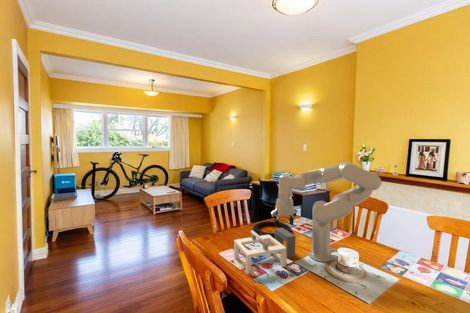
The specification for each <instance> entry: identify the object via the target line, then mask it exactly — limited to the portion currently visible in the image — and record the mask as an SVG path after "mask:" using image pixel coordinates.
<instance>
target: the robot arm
mask: <svg viewBox="0 0 470 313" xmlns="http://www.w3.org/2000/svg"><path fill="white" fill-rule="evenodd" d="M341 180H346V181H348V182H350V183H352V184H354V186H353V187H352V188H349V189H347V190H345V191H343V192H340V193H337V194H334V195H333V197H332V198H331V201H329V202H326V201H324V200H318V201H316V202H314V204H313V206H312V228H311V229H312V230H311V232H312V233H311V237H312V238H311V250H310V251H308V257H310V258H311V259H312V260H315V261H316V262H321V263H322V262H323V263H325V262H326V263H327V262H331V261H332V260H333V258H334V257H333V255H332V254H333V253H336V252H337V249H336V247H334V248H332V247H331V223H332V222H334V221H337V220H340V219H342V218H345V217H346V216H348V215H349V214H351V213H352V211H353V208H354V206H357V205H359V204H361V203H363V202H366V201H367V200H368V199H369V198H370V197H371V195H372V194H373V192H374V191H377V190H378V189H379V188H380V187H381V186H382V179H381V177H380V176H379V175H378V174H376V173H373V172H372V171H369V170H366V169H364V168H363V167H360V166H358V165H356V164H354V163H352V162H350V161H345V162H340V163H337V164H333V165H330V166H326V167H322V168H317V169H314V170H313V169H312V170H309V171H305V172H301V173H298V174H296V175H294V176H292V175H289V174H281V175H279V178H278V195H277V196H278V197H277V198H276V201H275V205H274V210H272V211H271V212H270V215H271V217H272V218H273V219H274V222H275V226H274V227H276V226H277V227H276V228H280V227H279V222H280V221H279V219H280V218H284V217H289V219H288V220H289V222H288V223H289V225H291V226H294V219H295V217H296V216H297V214H298V213H299V212H298V211H299V210H298V209H296V208H294V200H293V198H292V197H294V194H293V190H295V191H296V190H297V191H300V190H301V191H302V190H303V189H305V188H306V186H307V185H312V184H318V183H319V184H329V183H332V182H336V181H341Z"/></svg>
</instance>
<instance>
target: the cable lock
mask: <svg viewBox="0 0 470 313" xmlns="http://www.w3.org/2000/svg"><path fill="white" fill-rule="evenodd" d="M262 227H263V228H264V227H276V228H284V229H285V230H287V231H288V232H290V233H292V234H293V230H292V228H291V226H289V225H288V224H286V223H284V222H283V223H282V222H280V221H279V227H277V226H275V221H269V220H268V221H267V220H266V221H261V222H258V223H256V224H255V225H254V226H253V227H252V229H253V231H254V232H255V233H257V234H258V235H259V236H263V235H270V236H272V237H273V238H274V239H275V232H274V233H273V232H266V231H263V230H260V228H262Z"/></svg>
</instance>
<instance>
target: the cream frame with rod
mask: <svg viewBox="0 0 470 313" xmlns="http://www.w3.org/2000/svg"><path fill="white" fill-rule="evenodd" d="M250 233H251V237H244V238H238V239H233V258H234V259H235V260H240V251H241V253H243V255H244V256H245V273H246V274H248V275H250V274H249V273H251V274H252V258H254V257H260V256H265V255H270V254H276V253H280V260H279V261H280V267H282V268H286V267H287V257H286V249H287V248H286V245H284V244H283V245H282V244H281V243H279V242H278V241H277V240H275V239H274V238H273V237H272V236H270V235H263V236H259V235H258V234H257V233H255V232H254V231H253V230H252V229H251V230H250ZM255 243H262V247H260V248H253V249H249V250H248V248H246V247H245V245H250V244H255ZM272 244H273V245H272ZM275 245H276V246H275Z"/></svg>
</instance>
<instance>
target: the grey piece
mask: <svg viewBox="0 0 470 313" xmlns="http://www.w3.org/2000/svg"><path fill="white" fill-rule="evenodd" d="M274 233H275V240H277V241H278V242H279V243H281V244H282V245H283V246H284V241H285V247H286V248H287V249H286V259H291V258H295V257H296V235H295V234H293V232H292V233H290V232H288V231H287V230H285V229H284V228H280V227H276V228H275V229H274ZM274 246H276V245H275V244H274Z"/></svg>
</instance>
